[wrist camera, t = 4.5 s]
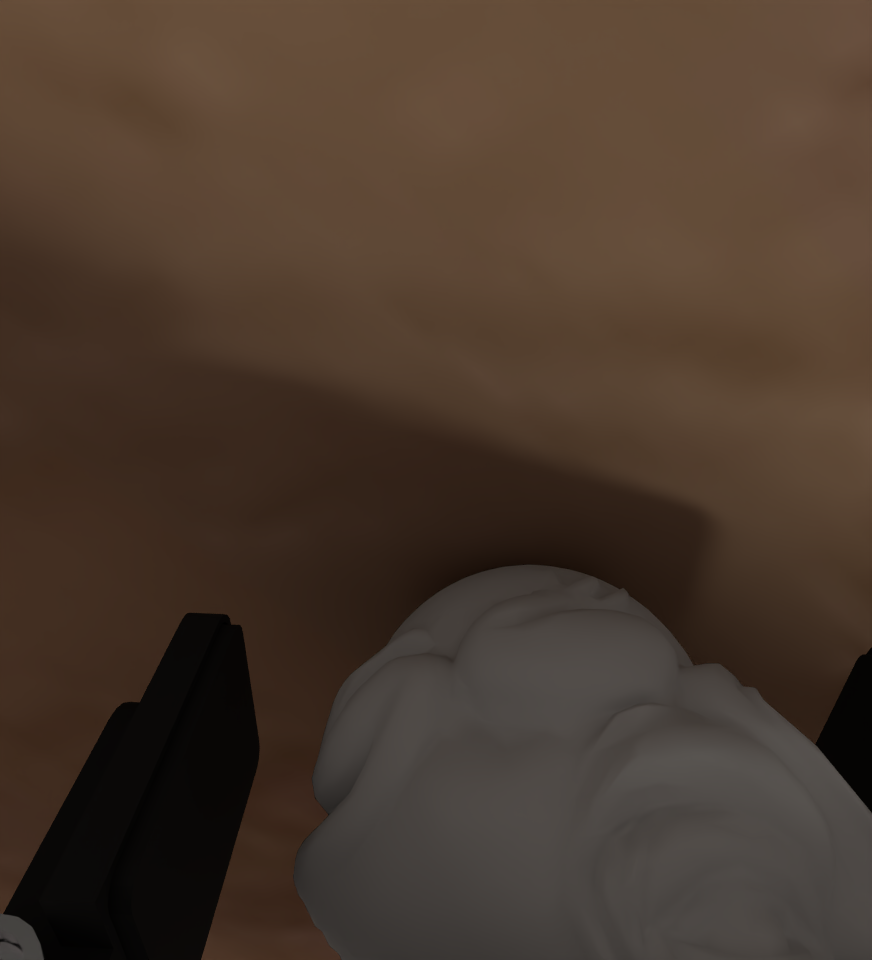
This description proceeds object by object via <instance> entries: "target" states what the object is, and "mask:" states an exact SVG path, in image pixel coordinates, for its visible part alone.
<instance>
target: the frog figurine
mask: <svg viewBox="0 0 872 960" xmlns="http://www.w3.org/2000/svg"><path fill="white" fill-rule="evenodd" d="M312 782H313V789H314V795H315V799H316V800H317V801H318V802H319V803H320V805H321V806H322V807H323V808H324V809H325V811H326V812H327V813H328V814H329V815H328V817H327V818H326V819H325V820H324V821H323V822H322V823H321V824H320V825H319V826H318V827H317V828H316V829H315V830H314V831H313V832H312V833H311V834H310V835H309V836H308V837H307V838H306V839H305V840H304V842H303V843H302V845H301V847H300V848H299V850H298V852H297V855H296V859H295V867H294V875H293V878H294V883H295V886H296V889H297V892H298V895H299V896H300V898H301V899H302V900H303V902H304V903H305V907H306V908H307V911H308V912H309V914H310V916H311V918H312V921H313V923H314V925H315V927H317V928H318V929H320V930H321V931H322V932H323V934H324V936H325V938H326V940H327V942H328V944H329V946H330V947H332V948H333V949H334V950H335V951H336V952H337V953H338V954H339V955H340V957H341V960H872V813H871V811H870V810H869V809H868V808H867V806H866V805H865V804H864V803H863V802H862V800H861V799H860V798H859V797H858V796H857V794H856V793H855V792H854V791H853V789H852V788H851V787H850V786H849V785H848V783H847V782H846V781H845V780H844V779H843V777H842V776H841V775H840V774H839V773H838V771H837V770H836V769H835V768H834V766H833V765H832V764H831V763H830V762H829V760H828V759H827V758H826V757H825V756H824V754H823V753H822V752H821V751H820V749H819V748H818V747H817V746H816V745H815V744H814V743H813V742H811V741H810V740H809V739H808V738H807V737H806V736H805V735H803V734H802V733H801V732H800V731H799V730H798V729H796V728H795V727H794V726H793V725H792V724H791V723H789V722H788V721H787V720H786V719H785V718H784V717H783V716H781V715H780V714H779V713H778V712H777V711H776V710H774V709H773V708H772V707H771V706H770V705H769V704H768V703H766V702H765V701H764V700H763V698H762V697H761V695H760V694H759V692H758V690H757V689H756V688H754V687H743V685H742V684H741V683H740V682H739V681H738V679H737V678H736V677H735V676H734V675H733V674H732V673H731V672H729V671H728V670H727V669H726V668H724V667H723V666H722V665H721V664H719V663H706V664H701V665H695V666H694V665H693V664H692V662H691V660H690V658H689V657H688V655H687V653H686V652H685V650H684V649H683V648H682V646H681V645H680V644H679V642H678V641H677V640H676V639H675V637H674V636H673V635H672V634H671V632H670V631H669V630H668V629H667V628H666V627H665V626H664V625H663V624H662V623H661V622H660V621H659V620H658V619H657V618H656V617H655V616H654V615H653V614H652V613H651V612H650V611H649V610H648V609H647V608H645V607H644V606H643V605H641V604H640V603H639V602H637V601H636V600H635V599H633V598H632V597H630V596H629V595H628V592H627V591H626V590H625V589H624V588H622V589H618V588H616V587H614V586H612V585H610V584H608V583H606V582H604V581H602V580H600V579H598V578H595V577H593V576H590V575H587V574H584V573H580V572H577V571H573V570H570V569H564V568H558V567H553V566H544V565H530V564H529V565H517V566H506V567H499V568H495V569H491V570H487V571H483V572H480V573H477V574H474V575H471V576H468V577H465V578H463V579H461V580H459V581H457V582H455V583H453V584H451V585H449V586H448V587H446V588H444V589H442V590H441V591H439V592H437V593H436V594H435V595H433V596H432V597H431V598H429V599H428V600H427V601H425V602H424V603H423V604H421V605H420V606H419V607H418V608H417V609H416V610H415V611H414V612H413V613H412V614H411V615H410V616H409V617H408V618H407V619H406V620H405V621H404V622H403V623H402V625H401V626H400V627H399V628H398V629H397V631H396V632H395V633H394V634H393V636H392V637H391V639H390V641H389V642H388V644H387V645H386V647H384V648H383V649H382V650H380V651H379V652H378V653H376V654H375V655H374V656H373V657H371V658H370V659H369V660H368V661H366V662H365V663H364V664H363V665H361V666H360V667H359V668H358V669H356V670H355V671H354V672H353V673H352V674H351V675H350V676H349V677H348V678H347V679H346V680H345V682H344V683H343V685H342V686H341V688H340V689H339V691H338V693H337V695H336V698H335V700H334V702H333V705H332V708H331V712H330V715H329V718H328V722H327V725H326V728H325V732H324V735H323V739H322V743H321V747H320V751H319V755H318V759H317V762H316V765H315V768H314V772H313V776H312Z"/></svg>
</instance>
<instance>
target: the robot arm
mask: <svg viewBox="0 0 872 960" xmlns="http://www.w3.org/2000/svg"><path fill="white" fill-rule="evenodd" d="M815 745H816V746H817V747H818V748H819V749H820V751H821V752H822V753H823V754H824V756H825V757H826V758H827V759H828V760H829V762H830V763H831V764H832V765H833V766H834V768H835V769H836V770H837V771H838V773H839V774H840V775H841V776H842V777H843V779H844V780H845V781H846V782H847V783H848V785H849V786H850V787H851V788H852V789H853V791H854V792H855V793H856V794H857V796H858V797H859V798H860V799H861V800H862V802H863V803H864V804H865V805H866V806H867V808H868V809H869V810H870V811H871V813H872V648H871V649H870V650H869V651H868V653H867V654H866V655H862V656H860V657H859V658H858V659H857V661H856V663H855V665H854V667H853V669H852V671H851V673H850V675H849V677H848V679H847V681H846V683H845V685H844V687H843V689H842V691H841V694H840V696H839V698H838V700H837V702H836V704H835V706H834V708H833V710H832V712H831V714H830V716H829V718H828V720H827V722H826V724H825V726H824V728H823V730H822V732H821V734H820V736H819V738H818V740H817V742H816V744H815ZM259 747H260V746H259V737H258V730H257V724H256V717H255V710H254V704H253V697H252V690H251V684H250V677H249V670H248V664H247V657H246V650H245V643H244V637H243V631H242V627H241V626H240V625H231V622H230V618H229V617H228V615H225V614H205V613H187V614H186V615H185V616H184V618H183V619H182V621H181V623H180V625H179V627H178V629H177V631H176V632H175V634H174V636H173V638H172V640H171V642H170V644H169V646H168V648H167V650H166V652H165V654H164V656H163V658H162V660H161V662H160V664H159V666H158V668H157V670H156V672H155V674H154V676H153V678H152V680H151V681H150V683H149V685H148V687H147V689H146V691H145V693H144V695H143V697H142V699H141V701H140V702H126V703H122V704H121V705H120V706H119V707H118V708H116V710H115V711H114V713H113V714H112V716H111V717H110V719H109V720H108V722H107V724H106V726H105V728H104V730H103V732H102V733H101V735H100V737H99V739H98V741H97V743H96V744H95V746H94V748H93V750H92V752H91V754H90V755H89V757H88V759H87V761H86V763H85V765H84V766H83V768H82V770H81V772H80V774H79V776H78V777H77V779H76V781H75V783H74V785H73V787H72V788H71V790H70V792H69V794H68V796H67V798H66V799H65V801H64V803H63V805H62V807H61V809H60V810H59V812H58V814H57V816H56V818H55V820H54V821H53V823H52V825H51V827H50V829H49V831H48V832H47V834H46V836H45V838H44V840H43V842H42V843H41V845H40V847H39V849H38V851H37V853H36V855H35V856H34V858H33V860H32V862H31V864H30V866H29V867H28V869H27V871H26V873H25V875H24V877H23V878H22V880H21V882H20V884H19V886H18V888H17V889H16V891H15V893H14V895H13V897H12V899H11V900H10V902H9V904H8V906H7V908H6V910H5V911H4V913H3V914H0V960H201V958H202V954H203V951H204V947H205V944H206V941H207V937H208V934H209V930H210V927H211V923H212V920H213V917H214V913H215V910H216V906H217V903H218V899H219V896H220V893H221V889H222V886H223V882H224V879H225V876H226V872H227V869H228V865H229V862H230V858H231V855H232V852H233V848H234V845H235V841H236V838H237V834H238V831H239V828H240V824H241V821H242V817H243V814H244V810H245V807H246V804H247V800H248V797H249V793H250V790H251V787H252V783H253V780H254V776H255V773H256V769H257V765H258V760H259Z"/></svg>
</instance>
